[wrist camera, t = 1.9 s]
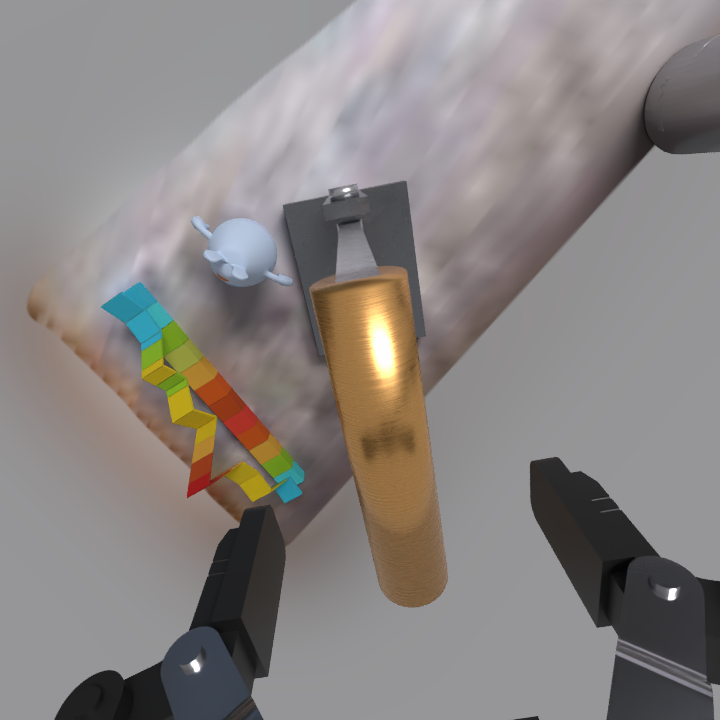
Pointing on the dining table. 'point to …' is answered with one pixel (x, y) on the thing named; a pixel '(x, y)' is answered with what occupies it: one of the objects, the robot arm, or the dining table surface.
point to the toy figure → (241, 252)
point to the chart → (212, 390)
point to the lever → (383, 416)
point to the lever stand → (381, 228)
